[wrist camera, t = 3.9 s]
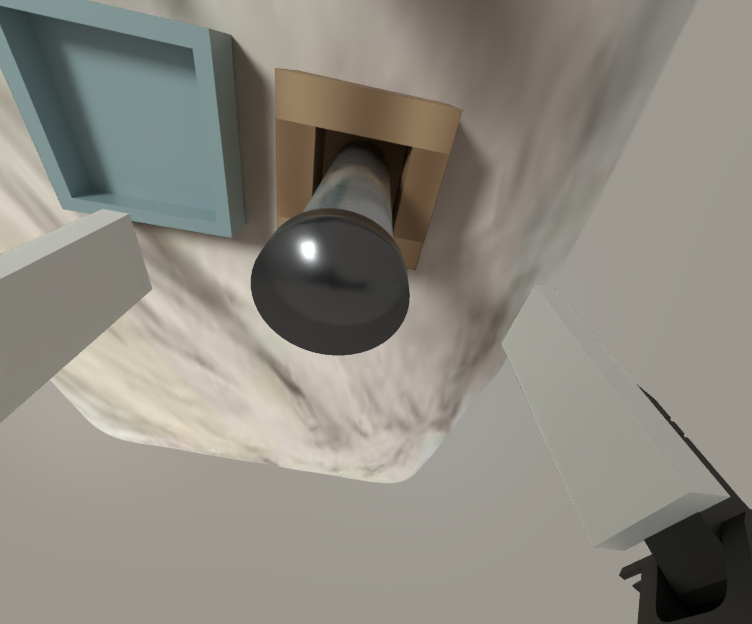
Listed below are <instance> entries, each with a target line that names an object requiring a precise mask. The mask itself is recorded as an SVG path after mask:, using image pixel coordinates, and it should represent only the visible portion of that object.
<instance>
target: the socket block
mask: <svg viewBox="0 0 752 624" xmlns="http://www.w3.org/2000/svg"><path fill="white" fill-rule="evenodd" d="M275 106H276V172H277V229H278V228H279V227H280V226H281V225H282V224H283V223H285V222H286V221H287V220H289V219H291V218H292V217H294V216H296V215H298V214H300V213H303V211H304V209H305V208H306V206H307V204H308V203H309V201H310V199H311V198H312V196H313V194H314V193H315V191H316V190H317V188H318V186H319V185H320V183H321V181H322V180H323V178H324V176H325V175H326V173H327V171H328V170H329V168H330V167H331V165H332V163H333V162H334V160H335V158H336V157H337V155H338V153H339V152H340V151H341V149H342V148H343V147H344V146H346V145H347V144H349V143H351V142H354V141H367V142H370V143H373V144H374V145H376V146H377V147H378V148H380V149H381V151H382V152H383V153H384V155H385V156H386V158H387V161H388V165H389V176H390V193H391V211H392V229H393V239H394V240H395V241H396V243H397V245H398V246H399V248H400V250H401V252H402V254H403V257H404V259H405V263H406V268H407V269H412V270H416V267H417V264H418V260H419V257H420V253H421V250H422V247H423V243H424V240H425V236H426V233H427V230H428V226H429V223H430V220H431V216H432V213H433V209H434V206H435V203H436V199H437V196H438V192H439V189H440V186H441V182H442V179H443V175H444V172H445V169H446V165H447V162H448V159H449V155H450V152H451V148H452V145H453V142H454V138H455V135H456V131H457V128H458V125H459V121H460V118H461V114H462V111H463V110H461V109H459V108H456V107H454V106H451V105H448V104H445V103H440V102H436V101H431V100H427V99H422V98H418V97H414V96H409V95H405V94H400V93H396V92H391V91H387V90H382V89H378V88H373V87H369V86H364V85H360V84H355V83H351V82H347V81H342V80H338V79H333V78H329V77H324V76H320V75H315V74H311V73H306V72H302V71H297V70H288V69H277V68H275Z"/></svg>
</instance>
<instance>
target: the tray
mask: <svg viewBox="0 0 752 624" xmlns="http://www.w3.org/2000/svg"><path fill="white" fill-rule="evenodd" d="M0 68H1V70H2V72H3V75H4V77H5V79H6V81H7V84H8V86H9V88H10V91H11V93H12V95H13V97H14V100H15V102H16V104H17V106H18V109H19V111H20V113H21V116H22V118H23V120H24V122H25V125H26V127H27V129H28V131H29V134H30V136H31V138H32V141H33V143H34V145H35V147H36V150H37V152H38V154H39V156H40V159H41V161H42V163H43V166H44V168H45V170H46V172H47V175H48V177H49V179H50V181H51V184H52V186H53V188H54V191H55V193H56V195H57V197H58V200H59V202H60V204H61V206H62V209H65V210H71V211H77V212H83V213H88V214H92V213H95V212H97V211H99V210H101V209H106V210H112V211H117V212H123V213H129V214H130V217H131V220H132V221H135V222H141V223H147V224H153V225H159V226H165V227H170V228H176V229H182V230H188V231H194V232H200V233H206V234H211V235H217V236H223V237H229V238H232V237H233V236H234V235H235V234H236V233H237V232H238V231H239V230H240V229H241V228H242V227H243V226H244V225H245V224H246V218H245V205H244V192H243V180H242V167H241V154H240V142H239V129H238V116H237V104H236V91H235V78H234V66H233V53H232V40H231V35H229V34H226V33H222V32H219V31H215V30H212V29H208V28H204V27H200V26H195V25H191V24H187V23H182V22H178V21H174V20H169V19H165V18H161V17H156V16H152V15H148V14H143V13H139V12H135V11H130V10H126V9H122V8H117V7H113V6H109V5H104V4H100V3H95V2H91V1H87V0H0Z"/></svg>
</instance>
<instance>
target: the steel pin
mask: <svg viewBox="0 0 752 624" xmlns="http://www.w3.org/2000/svg"><path fill="white" fill-rule="evenodd" d="M251 291H252V296H253V300H254V303H255V305H256V307H257V310H258V312H259V313H260V315H261V316H262V318H263V319H264V321H265V322H266V323H267V324H268V326H269V327H270V328H271V329H272V330H274V331H275V332H276V333H277V334H278V335H279V336H281V337H282V338H283V339H285V340H287V341H288V342H290V343H292V344H294V345H296V346H298V347H300V348H302V349H305V350H308V351H311V352H315V353H320V354H325V355H351V354H357V353H361V352H364V351H368V350H370V349H373V348H375V347H377V346H379V345H380V344H382V343H384V342H385V341H386V340H388V339H389V338H390V337H391V336H392V335H393V334H394V333H395V332H396V331H397V330H398V329H399V327H400V326H401V324H402V323H403V321H404V319H405V316H406V314H407V311H408V306H409V297H410V294H409V285H408V276H407V268H406V263H405V259H404V257H403V254H402V252H401V250H400V248H399V246H398V245H397V243H396V241H395V240H394V239H393V229H392V211H391V193H390V176H389V165H388V161H387V158H386V156H385V155H384V153H383V152H382V151H381V149H380V148H378V147H377V146H376V145H374V144H373V143H370V142H367V141H354V142H351V143H349V144H347V145H346V146H344V147H343V148H342V149H341V151H340V152H339V153H338V155H337V157H336V158H335V160H334V162H333V163H332V165H331V167H330V168H329V170H328V171H327V173H326V175H325V176H324V178H323V180H322V181H321V183H320V185H319V186H318V188H317V190H316V191H315V193H314V194H313V196H312V198H311V199H310V201H309V203H308V204H307V206H306V208H305V209H304V211H303V213H300V214H298V215H296V216H294V217H292V218H291V219H289V220H287V221H286V222H285V223H283V224H282V225H281V226H280V227H279V228H278V229H277V230H276V232H275V233H274V234H273V235H272V237H271V238H270V239H269V241H268V242H267V244H266V245H265V246H264V248H263V249H262V251H261V252H260V254H259V255H258V257H257V259H256V261H255V263H254V266H253V269H252V275H251Z"/></svg>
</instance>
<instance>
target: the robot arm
mask: <svg viewBox="0 0 752 624" xmlns="http://www.w3.org/2000/svg"><path fill="white" fill-rule="evenodd" d="M151 290H152V287H151V283H150V280H149V277H148V273H147V270H146V267H145V263H144V260H143V257H142V254H141V250H140V247H139V244H138V240H137V237H136V234H135V230H134V227H133V224H132V220H131V217H130V214H129V213H123V212H117V211H112V210H106V209H101V210H99V211H97V212H95V213H92V214H90V215H88V216H86V217H83V218H81V219H79V220H77V221H74V222H72V223H70V224H67V225H65V226H63V227H61V228H58V229H56V230H54V231H52V232H49V233H47V234H45V235H42V236H40V237H38V238H36V239H33V240H31V241H29V242H27V243H24V244H22V245H20V246H18V247H15V248H13V249H11V250H8V251H6V252H4V253H2V254H0V423H1V422H2V421H3V420H4V419H5V418H6V417H7V416H8V415H10V414H11V413H12V412H13V411H14V410H15V409H16V408H18V407H19V406H20V405H21V404H22V403H23V402H24V401H26V400H27V399H28V398H29V397H30V396H31V395H32V394H34V393H35V391H37V390H38V389H39V388H40V387H42V386H43V385H44V384H45V383H46V382H47V381H48V380H49V379H51V378H52V377H53V376H54V375H55V374H56V373H57V372H59V371H60V370H61V369H62V368H63V367H64V366H65V365H67V364H68V363H69V362H70V361H71V360H72V359H73V358H75V357H76V356H77V355H78V354H79V353H80V352H81V351H82V350H84V349H85V348H86V347H87V346H88V345H89V344H90V343H92V342H93V341H94V340H95V339H96V338H97V337H98V336H100V335H101V334H102V333H103V332H104V331H105V330H106V329H107V328H109V327H110V326H111V325H112V324H113V323H114V322H115V321H117V320H118V319H119V318H120V317H121V316H122V315H123V314H125V313H126V312H127V311H128V310H129V309H130V308H131V307H133V306H134V305H135V304H136V303H137V302H138V301H139V300H140V299H142V298H143V297H144V296H145V295H146V294H147V293H148V292H150V291H151ZM501 344H502V346H503V349H504V351H505V353H506V355H507V358H508V360H509V362H510V364H511V367H512V369H513V371H514V373H515V375H516V378H517V380H518V382H519V384H520V387H521V389H522V391H523V393H524V395H525V398H526V400H527V402H528V404H529V407H530V409H531V411H532V413H533V416H534V418H535V420H536V422H537V424H538V427H539V429H540V431H541V433H542V435H543V438H544V440H545V442H546V445H547V447H548V449H549V451H550V453H551V456H552V458H553V460H554V462H555V465H556V467H557V469H558V471H559V473H560V476H561V478H562V480H563V482H564V485H565V487H566V489H567V491H568V494H569V496H570V498H571V500H572V502H573V505H574V507H575V509H576V511H577V514H578V516H579V518H580V520H581V523H582V525H583V527H584V529H585V531H586V534H587V536H588V538H589V540H590V543H591V544H592V547H594V548H604V549H614V550H626V549H628V548H630V547H632V546H634V545H636V544H638V543H640V542H642V541H645V542H646V544H647V546H648V548H649V549H650V551H651V553H652V555H650V556H647V557H645V558H643V559H641V560H639V561H636V562H634V563H632V564H630V565H628V566H626V567H624V568H622V570H621V572H620V575H619V576H620V577H622V578H623V579H624V580H626V579H628V578H630V577H633V576H635V575H637V574H640V573H641V574H642V575H641V581H638V582H637V583H635V584H633V587H634V588H635V589H636V590H637V591H639V592H640V599H639V612H638V624H752V509H751V510H750V509H749V508H748V507H747V506H746V504H745V503H744V502H743V501H742V500H741V499H740V498H739V497H738V496H737V494H736V493H735V492H734V491H733V490H732V489H731V487H730V486H729V485H728V484H727V483H726V482H725V480H724V479H723V478H722V477H721V476H720V475H719V473H718V472H717V471H716V470H715V469H714V468H713V466H712V465H711V464H710V463H709V462H708V461H707V459H706V458H705V457H704V456H703V455H702V454H701V452H700V451H699V450H698V449H697V448H696V447H695V445H694V444H693V443H692V442H691V441H690V440H689V439H688V438H686V437H684V433H683V431H682V430H681V429H680V428H679V427H678V426H677V424H676V423H675V422H673V421H671V420H670V418H671V417H670V416H669V415H668V414H667V413H666V412H665V410H663V408H662V407H661V406H660V405H659V403H658V402H657V401H656V400H655V399H654V398H653V397H652V396H650V395H649V394H648V393H647V392H645V391H644V390H643V389H642V388H641V387H639V386H638V385H637V384H636V383H635V382H634V381H633V380H632V379H631V377H630V376H629V375H628V374H627V373H626V371H625V370H624V369H623V368H622V367H621V365H620V364H619V363H618V362H617V361H616V360H615V358H614V357H613V356H612V355H611V354H610V352H609V351H608V350H607V349H606V348H605V346H604V345H603V344H602V343H601V342H600V341H599V339H598V338H597V337H596V336H595V334H594V333H593V332H592V331H591V330H590V328H589V327H588V326H587V325H586V324H585V323H584V321H583V320H582V319H581V318H580V317H579V316H578V314H577V313H576V312H575V311H574V309H573V308H572V307H571V306H570V305H569V304H568V302H567V301H566V300H565V299H564V297H563V296H562V295H561V294H560V293H559V291H558V290H557V289H556V288H551V287H545V286H540V285H534V287H533V289H532V291H531V292H530V294H529V296H528V298H527V299H526V301H525V303H524V305H523V306H522V308H521V310H520V312H519V313H518V315H517V317H516V318H515V320H514V322H513V324H512V325H511V327H510V329H509V331H508V332H507V334H506V336H505V338H504V339H503V341H502V343H501Z"/></svg>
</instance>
